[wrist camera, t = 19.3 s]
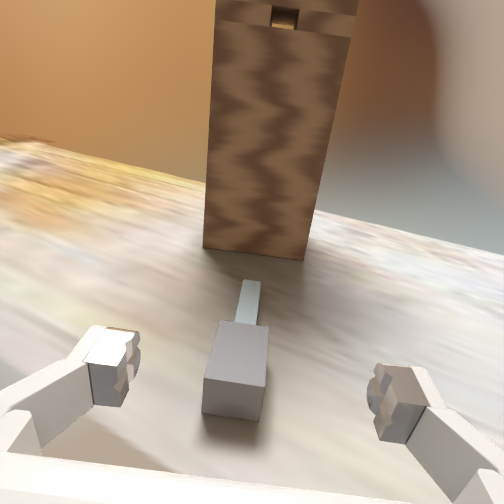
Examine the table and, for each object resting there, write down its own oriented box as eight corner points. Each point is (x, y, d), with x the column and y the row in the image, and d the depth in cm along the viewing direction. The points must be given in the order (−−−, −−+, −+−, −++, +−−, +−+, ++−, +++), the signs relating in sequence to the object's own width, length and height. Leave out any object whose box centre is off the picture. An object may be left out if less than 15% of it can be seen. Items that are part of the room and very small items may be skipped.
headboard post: (202, 247, 45) (218, -44, 31) (214, 221, 54) (230, -15, 40) (303, 260, 45) (364, -25, 31) (298, 231, 54) (343, 0, 40)
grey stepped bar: (258, 422, 23) (265, 387, 21) (201, 413, 23) (203, 377, 21) (268, 294, 37) (272, 267, 35) (233, 289, 37) (236, 262, 35)
